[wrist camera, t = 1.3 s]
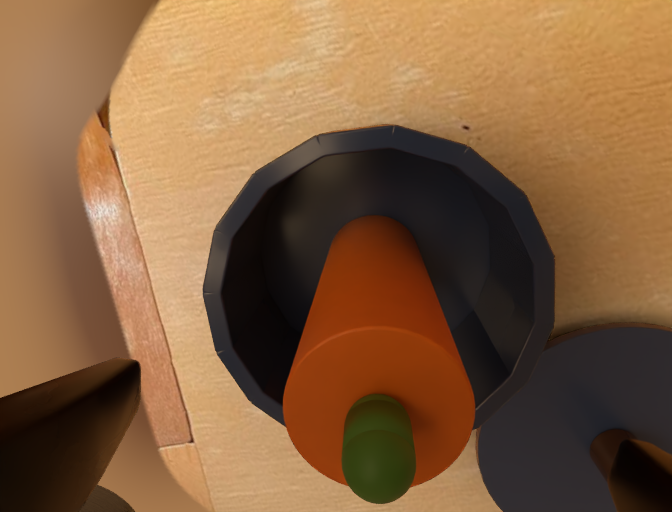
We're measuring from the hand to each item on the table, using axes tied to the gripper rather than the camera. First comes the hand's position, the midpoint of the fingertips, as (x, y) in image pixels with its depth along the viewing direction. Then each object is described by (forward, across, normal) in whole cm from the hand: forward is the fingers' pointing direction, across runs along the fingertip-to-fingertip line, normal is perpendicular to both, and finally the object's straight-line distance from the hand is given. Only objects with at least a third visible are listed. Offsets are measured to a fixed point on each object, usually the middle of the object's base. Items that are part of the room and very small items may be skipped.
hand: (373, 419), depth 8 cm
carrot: (+10, 0, 0) cm, 10 cm away
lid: (+10, -11, +6) cm, 16 cm away
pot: (+11, 0, 0) cm, 11 cm away
